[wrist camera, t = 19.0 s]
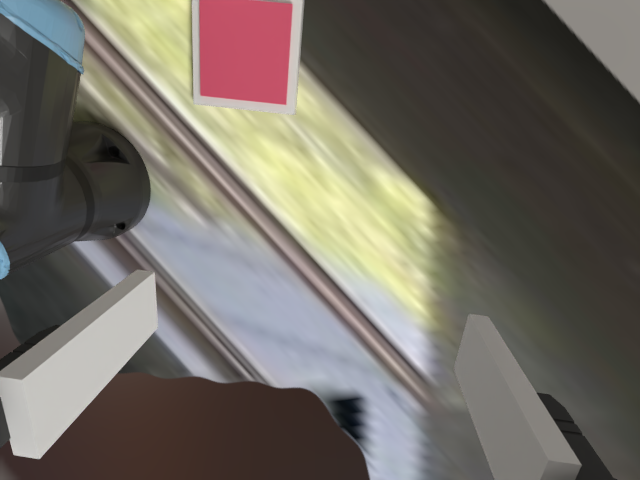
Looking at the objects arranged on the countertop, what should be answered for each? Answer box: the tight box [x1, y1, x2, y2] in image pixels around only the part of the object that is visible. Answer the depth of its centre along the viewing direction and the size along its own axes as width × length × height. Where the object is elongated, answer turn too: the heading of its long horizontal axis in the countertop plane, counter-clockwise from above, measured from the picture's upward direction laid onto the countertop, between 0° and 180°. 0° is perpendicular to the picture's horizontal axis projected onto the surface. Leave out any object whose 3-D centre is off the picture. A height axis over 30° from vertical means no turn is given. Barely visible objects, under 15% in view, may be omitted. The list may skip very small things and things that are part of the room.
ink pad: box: [192, 0, 304, 115], centre depth 42 cm, size 12×12×2 cm
